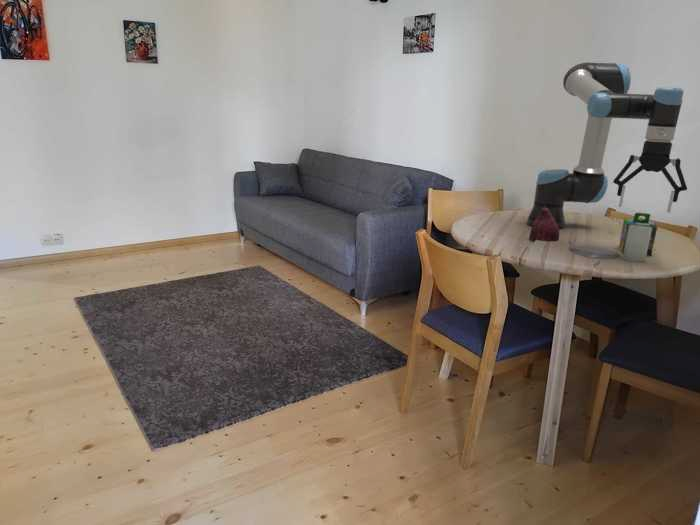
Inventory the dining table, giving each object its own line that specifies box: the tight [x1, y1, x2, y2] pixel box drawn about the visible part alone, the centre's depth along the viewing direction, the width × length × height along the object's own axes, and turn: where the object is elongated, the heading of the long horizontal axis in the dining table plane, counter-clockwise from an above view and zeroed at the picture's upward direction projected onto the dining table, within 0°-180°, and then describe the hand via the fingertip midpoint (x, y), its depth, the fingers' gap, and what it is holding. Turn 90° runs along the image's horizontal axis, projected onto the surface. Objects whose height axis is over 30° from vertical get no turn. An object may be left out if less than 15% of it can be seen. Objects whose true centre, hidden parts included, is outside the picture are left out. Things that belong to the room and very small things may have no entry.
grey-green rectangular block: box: [622, 225, 652, 263], centre depth 168 cm, size 7×7×12 cm
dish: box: [568, 245, 621, 260], centre depth 176 cm, size 16×16×1 cm
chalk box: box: [618, 212, 658, 257], centre depth 177 cm, size 9×9×15 cm
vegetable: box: [528, 206, 560, 243], centre depth 190 cm, size 10×10×15 cm
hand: (643, 209), depth 165 cm, fingers open, 13 cm apart
